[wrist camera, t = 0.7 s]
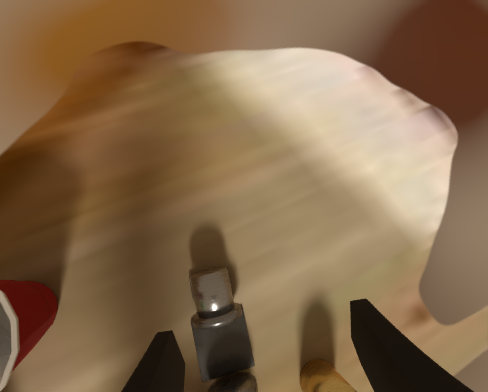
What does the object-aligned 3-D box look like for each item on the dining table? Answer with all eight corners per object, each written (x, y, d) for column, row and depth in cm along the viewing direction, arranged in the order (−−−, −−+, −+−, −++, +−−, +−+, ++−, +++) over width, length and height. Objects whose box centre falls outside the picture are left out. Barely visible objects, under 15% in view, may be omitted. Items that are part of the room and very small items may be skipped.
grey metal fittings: (264, 411, 33) (276, 444, 28) (211, 429, 32) (214, 467, 27) (232, 262, 34) (239, 268, 29) (181, 275, 33) (179, 283, 28)
